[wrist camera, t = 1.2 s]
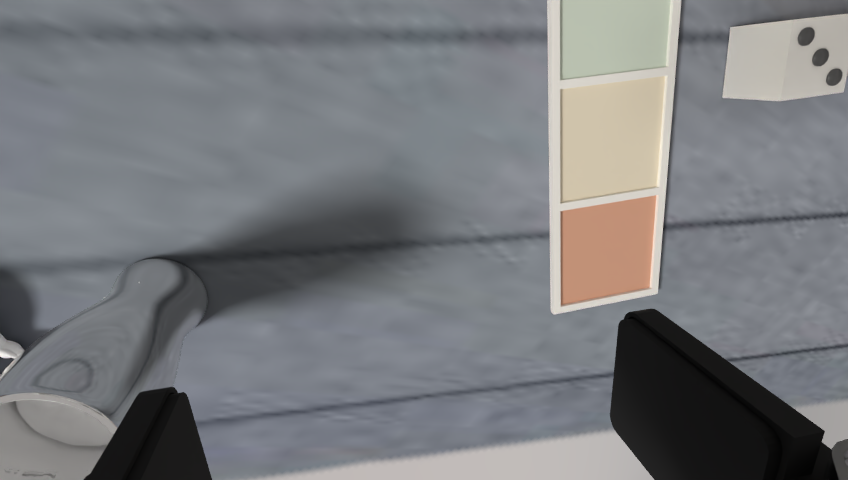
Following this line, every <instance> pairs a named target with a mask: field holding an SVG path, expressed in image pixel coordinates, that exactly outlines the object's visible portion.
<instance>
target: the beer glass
mask: <svg viewBox="0 0 848 480" xmlns="http://www.w3.org/2000/svg"><path fill="white" fill-rule="evenodd" d="M206 309H207V292H206V289H205V286H204V284H203V283H202V281H201V279H200V278H199V277H198V276H197V275H196V274H195V273H194V272H193V271H192V270H191V269H189V268H188V267H186V266H185V265H183V264H181V263H178V262H176V261H172V260H168V259H161V258H153V259H146V260H142V261H139V262H136V263H134V264H132V265H130V266H128V267H127V268H126V269H124V270H123V271H122V272H121V273H120V274H119V276H118V277H117V279H116V281H115V283H114V285H113V287H112V289H111V291H110V293H109V294H108V295H107V296H106V297H104V299H103V300H101V301H99V302H98V303H96V304H94V305H92V306H90V307H89V308H87V309H85V310H83V311H81V312H79V313H78V314H76V315H74V316H72V317H71V318H69V319H67V320H65V321H64V322H62V323H61V324H59V325H58V326H56V327H55V328H53V329H52V330H50V331H48V332H47V333H45V334H44V335H43V336H41V337H40V338H39V339H38V340H36V341H35V342H34V343H33V344H32V345H30V346H29V347H28V348H27V349H26V350H24V351H23V352H22V353H21V354H20V355H19V356H18V357H17V358H16V359H15V360H14V361H13V362H12V363H11V364H10V365H9V366H8V367H6V368H5V369H4V370H3V371H2V372H1V373H0V480H84V478H85V477H86V476H87V475H89V474H90V473H91V472H92V470H93V468H94V467H95V465H96V463H97V462H98V460H99V458H100V457H101V455H102V453H103V452H104V450H105V448H106V447H107V445H108V443H109V442H110V440H111V438H112V437H113V435H114V433H115V432H116V430H117V428H118V427H119V425H120V423H121V422H122V420H123V418H124V416H125V415H126V413H127V411H128V410H129V408H130V406H131V405H132V403H133V401H134V400H135V398H136V396H137V395H138V394H139V393H140V392H142V391H148V390H154V389H161V388H167V387H173V386H174V382H175V379H176V375H177V370H178V365H179V360H180V355H181V349H182V345H183V341H184V339H185V337H186V336H187V334H188V333H189V332H191V331H192V330H193V329H194V328H195V327H196V326H197V325H198V324H199V322H200V321H201V319H202V318H203V316H204V314H205V312H206Z"/></svg>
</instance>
